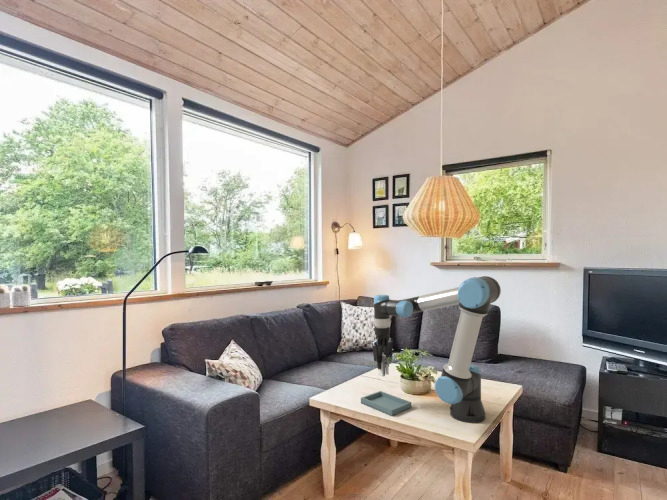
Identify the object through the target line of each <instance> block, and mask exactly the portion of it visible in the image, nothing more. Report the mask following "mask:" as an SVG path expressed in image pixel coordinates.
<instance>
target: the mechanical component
mask: <svg viewBox="0 0 667 500" xmlns="http://www.w3.org/2000/svg"><path fill="white" fill-rule="evenodd" d="M386 361H387V362H388V363H387V362H386ZM392 361H393V357H392V358H391V357H388V358H387V357H386V355H384V353H382V362H383V376H382V377H385V376H386V374H385V367H386V365H389V366H390V365H391V364H392Z"/></svg>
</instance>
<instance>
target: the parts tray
mask: <svg viewBox="0 0 667 500" xmlns="http://www.w3.org/2000/svg"><path fill="white" fill-rule="evenodd" d="M360 403H361V404H362V405H365V406H367V407H369V408H372V409H374V410H376V411H378V412H381V413H383V414H386V415H388V416H390V417H394V416H396V415H398V414H401V413H403V412H405V411H408V410H409V409H412V406H413V405H412V402H411V401H409V400H406V399H404V398H400V397H399V396H398V397H397V396H395V395H393V394H390V393H387V392H386V391H385V392H384V391H382V390H378V391H377V392H373V393H371V394H368V395H365V396H362V397H360Z"/></svg>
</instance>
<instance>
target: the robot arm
mask: <svg viewBox="0 0 667 500" xmlns="http://www.w3.org/2000/svg"><path fill="white" fill-rule="evenodd" d="M501 293H502V290H501V285H500V283H499V282H498V281H497V279H495V278H494V277H491V276H478V277H476V276H475V277H474V276H473V277H469V278H467V279H465V280H463V281H462V282H461V283H460V285H459V286H458V287H454V288H449V289H445V290H444V289H443V290H440V291H436V292H432V293H428V294H423V295H419V296H414V297H409V298H403V299H390V296H389V295H388V294H377V295H374V297H373V312H374V313H373V314H374V317H373V318H374V335H375V339H374V341H371V342H370V343H371V345H372V353H373V354H372V355H373V361H374V362H375V363H376V364H377V374H378V376H380V377H384V376H383V362H382V354H383V355H386V357H387V358H388V357H391V358H392V359H393V343H394V338H391V337H390V334H391V327H390V326H391V320H390V317H391V316H392V317H401V318H409V317H411V315H412V314H416V313H422V312H425V311H430V310H431V311H432V310H436V309H440V308H447V307H451V306H452V307H453V306H457V305H458V308H459V310H460V314H459V318H458V321H457V326H456V330H455V334H454V338H453V342H452V346H451V350H450V354H449V359H448V363H446V364H444V365H443V367H442V371H441V375H440V376H439V377H438V378H436V381H435V382H434V390H435V393H436V394H437V397H438V399H440V400H441V401H442V402H444V403H446V404H448V405H450V406H449V407H450V408H449V414H450V415H449V416H450V417H452V418H453V419H455V420H458V421H460V422H465V423H472V424H473V423H474V424H475V423H481V422H483V421H485V420H486V411H485V407H484V404H483V401H482V373H481V368H480V366H479V365H477V364H473V363H472V360H473V356H474V351H475V347H476V344H477V341H478V337H479V333H480V328H481V325H482V321H483V318H484V317H485V316H487V315H488V313H489V310H490V307H491V304H493V303H495V302H496V301H497V300H498V299H499V298H500V295H501ZM386 362H387V361H386ZM387 363H388V362H387ZM389 367H390V364H389V365H386V367H385V375H387V376H389V375H390V372H389V370H390V369H389Z"/></svg>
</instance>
